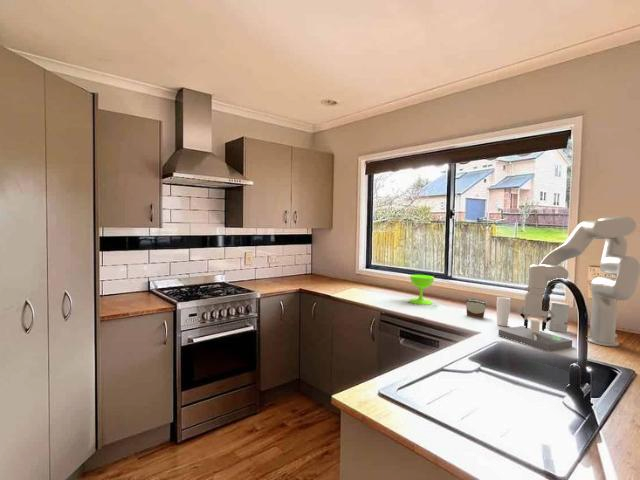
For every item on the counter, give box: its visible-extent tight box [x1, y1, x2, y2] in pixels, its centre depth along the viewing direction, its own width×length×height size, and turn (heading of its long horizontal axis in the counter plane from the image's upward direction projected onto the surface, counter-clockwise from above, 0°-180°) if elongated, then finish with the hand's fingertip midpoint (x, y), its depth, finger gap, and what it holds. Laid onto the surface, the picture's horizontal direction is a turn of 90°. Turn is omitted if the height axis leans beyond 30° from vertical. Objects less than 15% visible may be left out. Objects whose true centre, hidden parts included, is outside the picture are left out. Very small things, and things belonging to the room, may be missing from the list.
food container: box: [464, 297, 488, 319], centre depth 215 cm, size 12×6×10 cm, turn 47°
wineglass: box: [408, 274, 435, 306], centre depth 250 cm, size 16×16×18 cm
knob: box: [529, 317, 541, 339], centre depth 168 cm, size 15×3×6 cm, turn 152°
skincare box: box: [546, 300, 570, 333], centre depth 191 cm, size 8×6×15 cm
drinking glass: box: [496, 296, 512, 327], centre depth 197 cm, size 7×7×15 cm
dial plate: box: [497, 325, 573, 352], centre depth 170 cm, size 18×24×3 cm
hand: (534, 328), depth 170 cm, fingers open, 6 cm apart
